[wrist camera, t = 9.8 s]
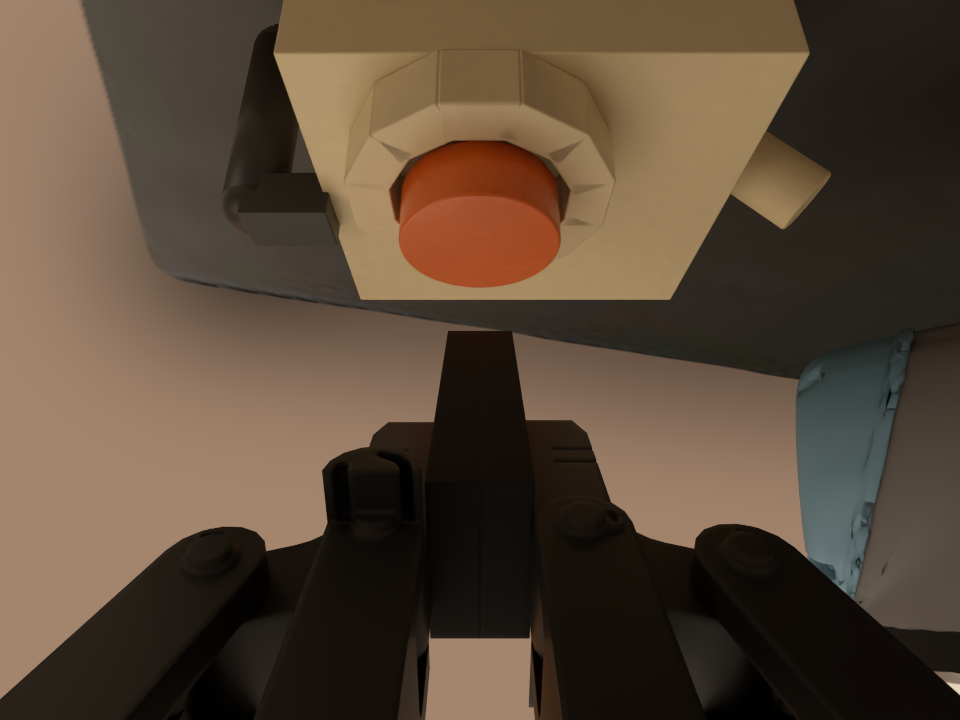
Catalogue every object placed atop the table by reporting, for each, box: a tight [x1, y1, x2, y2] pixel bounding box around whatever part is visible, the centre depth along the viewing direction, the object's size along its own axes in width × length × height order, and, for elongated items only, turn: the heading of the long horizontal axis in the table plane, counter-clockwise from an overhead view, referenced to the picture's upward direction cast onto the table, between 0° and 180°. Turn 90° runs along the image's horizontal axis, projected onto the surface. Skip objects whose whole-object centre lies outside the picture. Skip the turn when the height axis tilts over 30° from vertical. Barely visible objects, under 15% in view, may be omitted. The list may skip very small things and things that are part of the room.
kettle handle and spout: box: [221, 24, 831, 245], centre depth 22 cm, size 20×13×11 cm, turn 90°
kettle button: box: [399, 141, 561, 288], centre depth 17 cm, size 4×4×2 cm
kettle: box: [274, 0, 810, 300], centre depth 22 cm, size 13×12×12 cm
